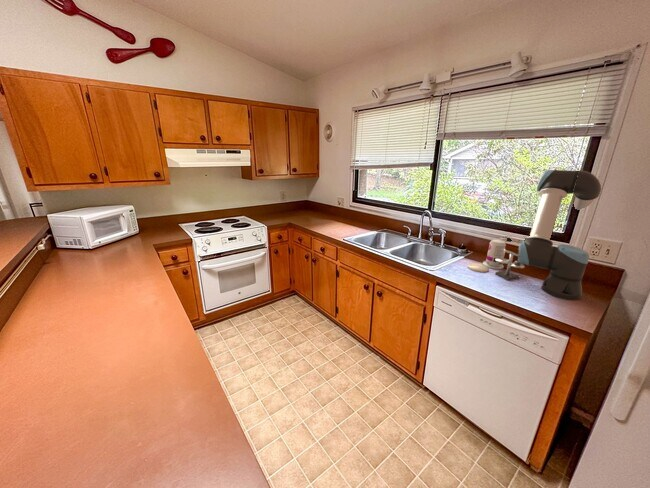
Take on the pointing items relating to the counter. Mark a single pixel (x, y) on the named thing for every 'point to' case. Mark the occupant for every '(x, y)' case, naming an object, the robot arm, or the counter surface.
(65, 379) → the counter surface
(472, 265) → the cream dish
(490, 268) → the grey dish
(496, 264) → the supplement can
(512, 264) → the balance
